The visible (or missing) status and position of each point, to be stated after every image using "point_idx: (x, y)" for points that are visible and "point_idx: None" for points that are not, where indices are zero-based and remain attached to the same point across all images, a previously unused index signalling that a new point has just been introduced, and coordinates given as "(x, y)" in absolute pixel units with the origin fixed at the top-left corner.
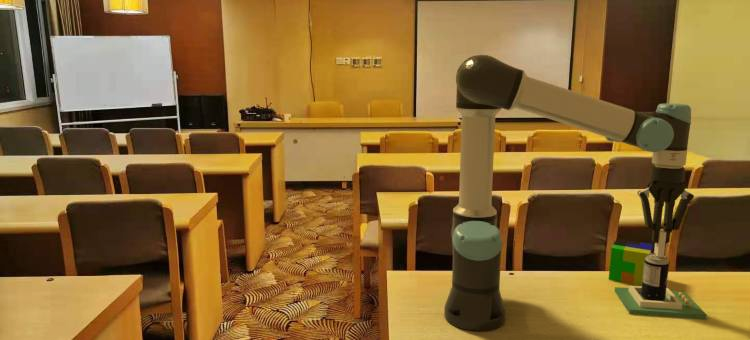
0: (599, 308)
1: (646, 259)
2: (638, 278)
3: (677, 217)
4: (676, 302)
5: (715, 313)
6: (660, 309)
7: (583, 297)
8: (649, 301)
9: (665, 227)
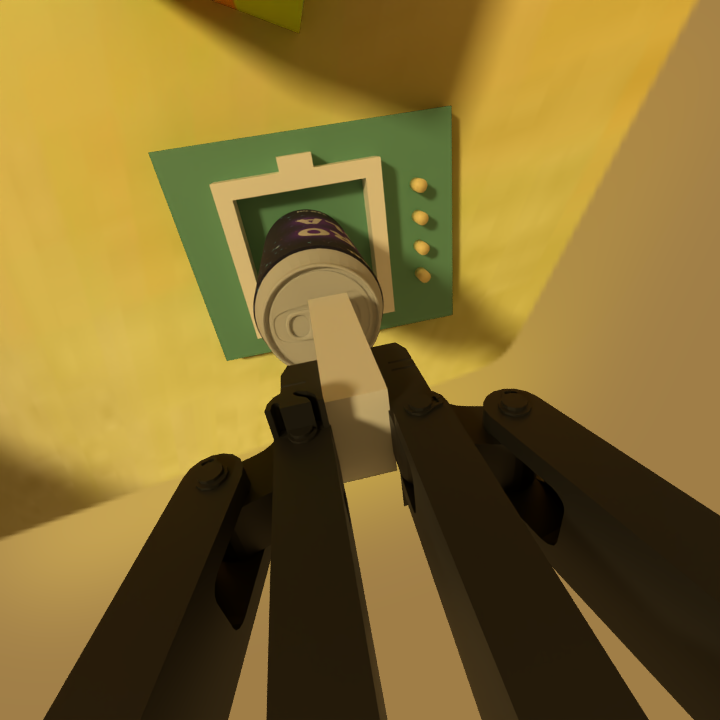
0: (129, 347)
1: (261, 332)
2: (256, 5)
3: (584, 590)
4: None
5: (491, 256)
6: None
7: (42, 271)
8: None
9: (406, 469)
